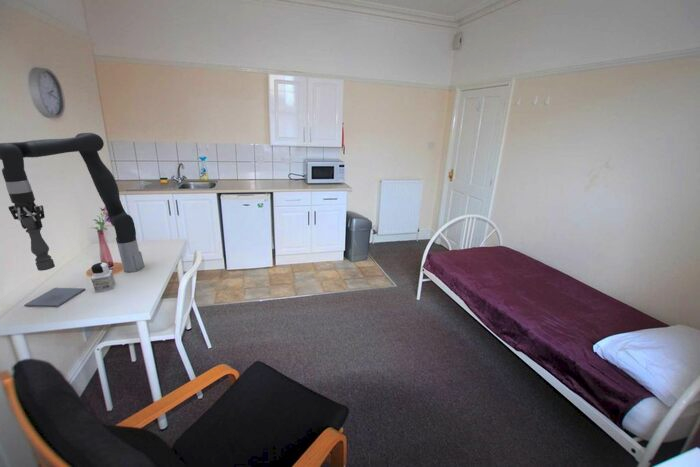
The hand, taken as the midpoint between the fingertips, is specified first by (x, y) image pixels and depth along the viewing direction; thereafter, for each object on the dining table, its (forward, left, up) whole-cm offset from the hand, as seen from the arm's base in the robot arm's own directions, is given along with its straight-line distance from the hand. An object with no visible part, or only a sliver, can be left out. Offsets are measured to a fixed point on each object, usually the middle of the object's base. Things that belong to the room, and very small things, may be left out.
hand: (32, 228), depth 149 cm
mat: (0, 0, -35) cm, 35 cm away
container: (-16, -11, -36) cm, 41 cm away
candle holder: (0, 0, -20) cm, 20 cm away
